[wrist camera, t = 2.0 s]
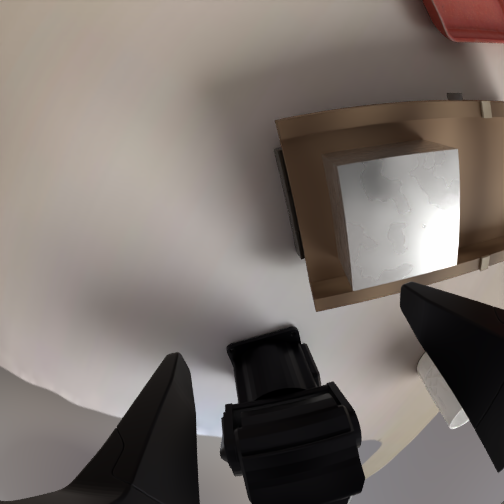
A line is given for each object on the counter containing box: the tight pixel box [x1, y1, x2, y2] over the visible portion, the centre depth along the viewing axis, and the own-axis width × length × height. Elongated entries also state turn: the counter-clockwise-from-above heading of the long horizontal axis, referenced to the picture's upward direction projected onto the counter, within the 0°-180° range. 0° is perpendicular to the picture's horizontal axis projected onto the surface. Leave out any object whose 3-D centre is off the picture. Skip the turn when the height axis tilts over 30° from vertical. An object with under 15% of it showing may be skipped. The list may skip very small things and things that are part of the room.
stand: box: [274, 148, 305, 259], centre depth 20 cm, size 27×10×4 cm, turn 104°
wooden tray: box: [275, 93, 504, 312], centre depth 16 cm, size 27×13×4 cm, turn 104°
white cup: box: [417, 352, 469, 429], centre depth 27 cm, size 8×8×10 cm
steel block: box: [322, 140, 460, 291], centre depth 16 cm, size 7×7×4 cm
